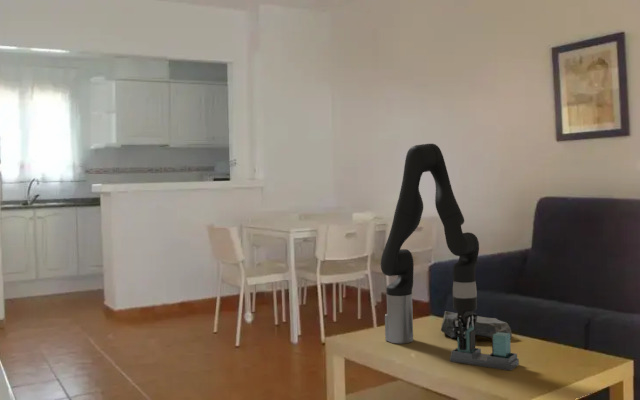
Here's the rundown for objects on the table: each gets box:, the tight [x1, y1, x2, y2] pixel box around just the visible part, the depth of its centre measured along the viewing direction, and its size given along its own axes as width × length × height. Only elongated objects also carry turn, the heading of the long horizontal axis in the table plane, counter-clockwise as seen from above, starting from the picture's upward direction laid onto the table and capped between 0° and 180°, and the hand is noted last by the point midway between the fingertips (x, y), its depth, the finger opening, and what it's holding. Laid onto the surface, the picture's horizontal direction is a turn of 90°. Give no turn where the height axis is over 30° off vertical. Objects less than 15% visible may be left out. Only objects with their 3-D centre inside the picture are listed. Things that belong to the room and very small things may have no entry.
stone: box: [440, 310, 513, 339], centre depth 250 cm, size 24×8×25 cm
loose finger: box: [456, 326, 476, 353], centre depth 217 cm, size 4×4×8 cm
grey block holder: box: [449, 332, 520, 371], centre depth 214 cm, size 20×7×10 cm, turn 54°
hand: (465, 347), depth 217 cm, fingers closed on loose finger, 4 cm apart
